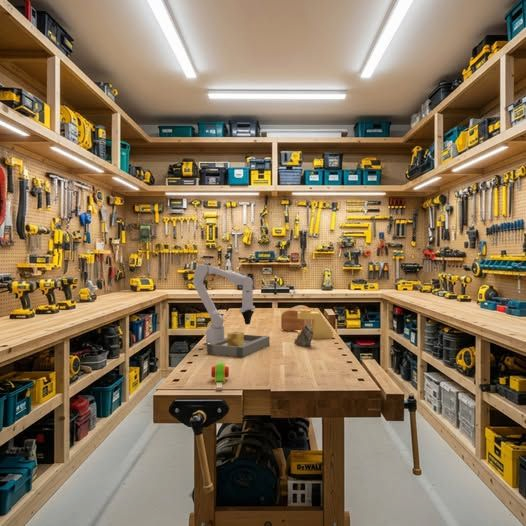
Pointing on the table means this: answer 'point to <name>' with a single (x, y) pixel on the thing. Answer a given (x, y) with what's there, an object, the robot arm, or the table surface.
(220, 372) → the toy measuring tape
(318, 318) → the pale yellow sloped piece
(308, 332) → the concrete fragment
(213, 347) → the trap track
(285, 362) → the table surface
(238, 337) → the block
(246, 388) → the table surface
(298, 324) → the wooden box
